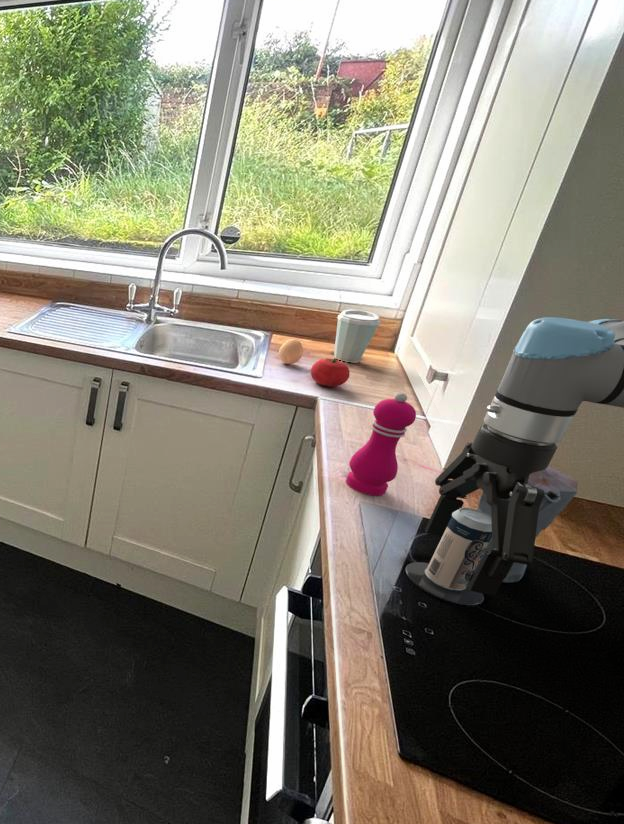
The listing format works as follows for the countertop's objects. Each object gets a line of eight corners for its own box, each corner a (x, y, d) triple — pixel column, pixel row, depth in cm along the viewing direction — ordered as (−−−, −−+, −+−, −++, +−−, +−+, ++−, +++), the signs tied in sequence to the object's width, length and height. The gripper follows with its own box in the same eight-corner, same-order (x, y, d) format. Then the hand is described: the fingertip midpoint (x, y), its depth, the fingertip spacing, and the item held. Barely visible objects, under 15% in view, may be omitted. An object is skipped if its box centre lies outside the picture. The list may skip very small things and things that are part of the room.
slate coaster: (495, 596, 86) (496, 594, 85) (463, 614, 82) (464, 611, 82) (424, 558, 93) (425, 556, 93) (392, 573, 89) (393, 571, 89)
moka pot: (466, 585, 87) (525, 471, 80) (423, 527, 101) (470, 424, 93) (547, 603, 84) (617, 487, 77) (492, 541, 98) (547, 436, 90)
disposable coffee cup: (367, 368, 175) (384, 320, 169) (324, 360, 180) (340, 314, 174) (364, 358, 183) (381, 312, 177) (323, 351, 188) (338, 306, 183)
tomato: (350, 387, 160) (360, 360, 157) (336, 393, 156) (346, 365, 152) (315, 376, 167) (324, 350, 164) (301, 382, 162) (309, 355, 159)
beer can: (461, 597, 84) (497, 530, 80) (420, 579, 88) (451, 513, 83) (467, 583, 87) (501, 517, 83) (426, 566, 91) (458, 501, 86)
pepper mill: (342, 473, 117) (377, 382, 109) (387, 485, 113) (426, 392, 105) (342, 488, 111) (378, 393, 104) (389, 502, 108) (430, 405, 100)
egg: (273, 363, 176) (280, 338, 173) (279, 358, 180) (286, 334, 177) (295, 368, 172) (303, 343, 169) (301, 364, 176) (309, 339, 173)
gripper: (441, 394, 90) (393, 509, 98) (540, 473, 68) (467, 612, 76) (502, 402, 87) (448, 519, 95) (625, 487, 65) (541, 629, 74)
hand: (456, 561), depth 86 cm, fingers open, 13 cm apart
